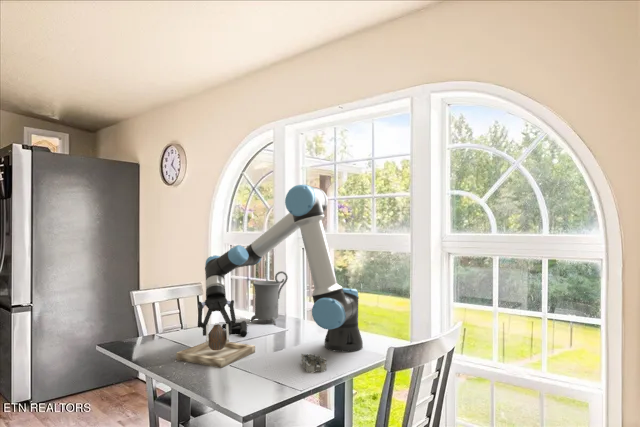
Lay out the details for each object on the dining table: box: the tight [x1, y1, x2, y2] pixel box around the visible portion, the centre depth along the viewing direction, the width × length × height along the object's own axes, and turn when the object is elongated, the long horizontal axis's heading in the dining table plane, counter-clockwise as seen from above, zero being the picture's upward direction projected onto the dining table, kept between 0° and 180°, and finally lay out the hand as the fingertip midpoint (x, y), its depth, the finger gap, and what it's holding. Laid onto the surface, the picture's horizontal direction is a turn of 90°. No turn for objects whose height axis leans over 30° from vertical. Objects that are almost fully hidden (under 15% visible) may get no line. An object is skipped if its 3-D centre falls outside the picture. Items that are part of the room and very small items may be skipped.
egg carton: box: [300, 353, 328, 373], centre depth 148 cm, size 11×8×4 cm
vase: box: [208, 323, 226, 350], centre depth 160 cm, size 7×7×9 cm
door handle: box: [221, 320, 248, 338], centre depth 196 cm, size 3×20×16 cm
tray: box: [175, 341, 256, 369], centre depth 160 cm, size 20×20×2 cm
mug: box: [250, 271, 289, 326], centre depth 217 cm, size 19×15×25 cm
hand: (217, 342), depth 157 cm, fingers closed on vase, 6 cm apart
